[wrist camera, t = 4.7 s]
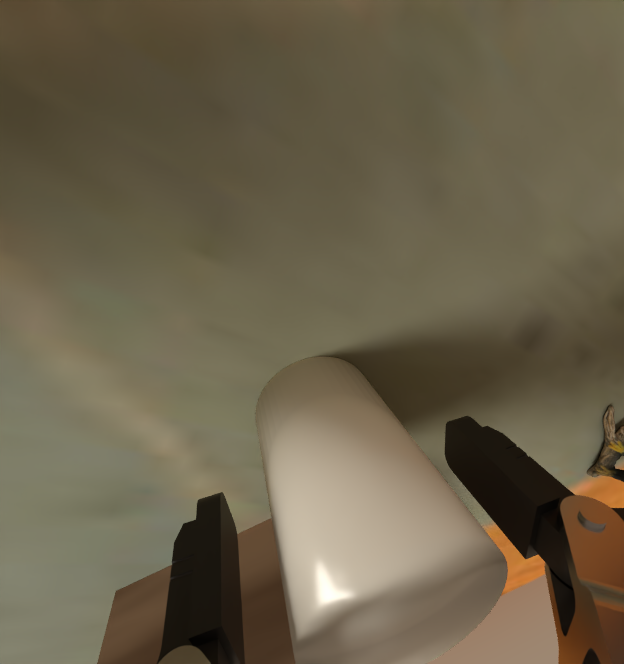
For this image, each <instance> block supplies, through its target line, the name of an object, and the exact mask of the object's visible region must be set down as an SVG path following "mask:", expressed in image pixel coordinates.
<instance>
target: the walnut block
mask: <svg viewBox="0 0 624 664" xmlns="http://www.w3.org/2000/svg"><path fill="white" fill-rule="evenodd" d="M237 537H238V549H239V567H240V585H241V602H242V620H243V638H244V655H245V664H296V663H295V658H294V652H293V646H292V640H291V634H290V628H289V621H288V615H287V609H286V603H285V597H284V591H283V585H282V579H281V573H280V566H279V560H278V554H277V548H276V542H275V536H274V530H273V524H272V518H271V519H269V520H266V521H264V522H262V523H260V524H258V525H256V526H254V527H252V528H249V529H247V530H245V531H243V532H241V533H239V534H237ZM171 566H172V565H171ZM171 566H169V567H166V568H164V569H162V570H160V571H158V572H156V573H154V574H151V575H149V576H147V577H145V578H143V579H141V580H139V581H137V582H134V583H132V584H130V585H128V586H126V587H124V588H122V589H120V590H117V591H116V593H115V597H114V600H113V604H112V608H111V612H110V616H109V620H108V624H107V628H106V632H105V636H104V639H103V643H102V647H101V651H100V655H99V659H98V663H97V664H157V661H158V658H159V655H160V651H161V646H162V638H163V630H164V622H165V614H166V606H167V598H168V590H169V582H170V574H171Z"/></svg>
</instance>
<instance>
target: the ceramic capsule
mask: <svg viewBox="0 0 624 664" xmlns="http://www.w3.org/2000/svg"><path fill="white" fill-rule="evenodd" d="M255 418H256V426H257V432H258V438H259V444H260V450H261V456H262V462H263V469H264V475H265V481H266V487H267V493H268V499H269V505H270V511H271V517H272V524H273V530H274V536H275V542H276V548H277V554H278V560H279V566H280V573H281V579H282V585H283V591H284V597H285V603H286V609H287V615H288V621H289V628H290V634H291V640H292V646H293V652H294V658H295V663H296V664H427V663H429V662H431V661H433V660H434V659H436V658H438V657H439V656H441V655H442V654H444V653H445V652H447V651H448V650H450V649H451V648H452V647H454V646H455V645H457V644H458V643H459V642H460V641H462V640H463V639H464V638H465V637H466V636H467V635H469V634H470V633H471V632H472V631H473V630H474V629H475V628H476V627H477V626H478V625H479V624H480V623H481V622H482V621H483V620H484V619H485V617H486V616H487V615H488V614H489V613H490V611H491V610H492V608H493V607H494V606H495V604H496V603H497V601H498V599H499V597H500V596H501V594H502V591H503V589H504V587H505V583H506V580H507V572H508V569H507V562H506V559H505V557H504V555H503V553H502V552H501V551H500V549H499V548H498V547H497V546H496V544H495V543H494V542H493V540H492V539H491V538H490V537H489V535H488V534H487V533H486V532H485V530H484V529H483V528H482V526H481V525H480V524H479V523H478V521H477V520H476V519H475V517H474V516H473V515H472V514H471V512H470V511H469V510H468V508H467V507H466V506H465V505H464V503H463V502H462V501H461V500H460V498H459V497H458V496H457V494H456V493H455V492H454V491H453V489H452V488H451V487H450V485H449V484H448V483H447V482H446V480H445V479H444V478H443V476H442V475H441V474H440V473H439V471H438V470H437V469H436V468H435V466H434V465H433V464H432V462H431V461H430V460H429V459H428V457H427V456H426V455H425V453H424V452H423V451H422V450H421V448H420V447H419V446H418V444H417V443H416V442H415V441H414V439H413V438H412V437H411V436H410V434H409V433H408V432H407V430H406V429H405V428H404V427H403V425H402V424H401V423H400V421H399V420H398V419H397V418H396V416H395V415H394V414H393V412H392V411H391V410H390V409H389V407H388V406H387V405H386V404H385V402H384V401H383V400H382V398H381V397H380V396H379V395H378V393H377V392H376V391H375V389H374V388H373V387H372V386H371V384H370V383H369V382H368V380H367V379H366V378H365V377H364V375H363V374H362V373H361V372H360V371H359V370H358V369H357V368H356V367H355V366H354V365H352V364H351V363H349V362H347V361H345V360H342V359H339V358H334V357H325V356H321V357H312V358H307V359H303V360H300V361H297V362H295V363H293V364H291V365H289V366H287V367H286V368H284V369H282V370H281V371H280V372H279V373H277V374H276V375H275V376H274V377H273V378H272V379H271V380H270V381H269V382H268V384H267V385H266V386H265V388H264V389H263V391H262V392H261V395H260V397H259V399H258V402H257V406H256V412H255Z"/></svg>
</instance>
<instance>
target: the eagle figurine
mask: <svg viewBox="0 0 624 664" xmlns="http://www.w3.org/2000/svg"><path fill="white" fill-rule="evenodd" d="M603 424H604V432H605V443H604V446H603V449H602V451H601V454H600V457H599V459H598V461H597V462H596V464H595V465H594V466H593V467H592V468H590V469H589V470H588V471H587V474H588V475H591V476H592V477H597V476H598V475H603V476H610V477H613V478H615V479H618V480H621V481H623V482H624V470H620V469H615V466H614V465H615V464H616V461H617V460H618V459H620V457H621V456H622V455H623V456H624V425H622V426H621V427H620V428H619V429H618V430H617V431H616V432H615V421H614V408H613V407H612V406H609V407H608V409H607V411H606V413H605V415H604V419H603Z"/></svg>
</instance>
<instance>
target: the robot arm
mask: <svg viewBox="0 0 624 664" xmlns="http://www.w3.org/2000/svg"><path fill="white" fill-rule="evenodd" d="M445 457H446V460H447V463H448V465H449V467H450V468H451V470H452V471H453V473H454V474H455V475H456V476H457V477H458V479H459V480H460V481H461V482H462V483H463V485H464V486H465V487H466V488H467V489H468V491H469V492H470V493H471V494H472V495H473V497H474V498H475V499H476V500H477V501H478V503H479V504H480V505H481V506H482V507H483V509H484V510H485V511H486V512H487V513H488V515H489V516H490V517H491V518H492V519H493V521H494V522H495V523H496V524H497V526H498V527H499V528H500V529H501V530H502V532H503V533H504V534H505V535H506V536H507V538H508V539H509V540H510V541H511V542H512V544H513V545H514V546H515V547H516V548H517V550H518V551H519V552H520V553H521V554H522V556H523V557H524V558H525V559H528V558H530V557H533V556H535V555H537V554H539V555H540V557H541V558H542V559H543V560H544V561H545V573H546V578H547V583H548V589H549V594H550V600H551V605H552V609H553V615H554V621H555V626H556V631H557V637H558V644H559V664H624V508H610V507H608V506H607V505H605V504H604V503H602V502H600V501H598V500H596V499H593V498H590V497H586V496H580V495H575V494H573V493H572V492H571V491H569V490H568V489H567V488H566V487H565V486H564V485H562V484H561V483H560V482H559V481H558V480H557V479H555V478H554V477H553V476H552V475H551V474H550V473H548V472H547V471H546V470H545V469H544V468H543V467H541V466H540V465H539V464H538V463H537V462H536V461H534V460H533V459H532V458H531V457H530V456H529V457H528V456H527V454H526V453H525V452H524V451H523V450H522V449H520V448H519V447H517V446H516V444H515V443H513V442H512V441H511V440H510V439H509V438H508V437H506V436H505V435H504V434H503V433H501V432H499V431H497V430H495V429H492V428H490V427H488V426H485V427H481V426H480V425H479V424H478V423H477V422H476V421H475V420H474V419H472V418H471V417H469V416H465V417H461V418H458V419H455V420H452V421H449V422H447V423H446V433H445ZM157 664H245V655H244V638H243V620H242V602H241V585H240V567H239V549H238V537H237V531H236V527H235V523H234V520H233V517H232V515H231V512H230V509H229V507H228V504H227V501H226V499H225V496H224V494H223V493H222V492H221V493H218V494H215V495H212V496H208V497H205V498H202V499H199V500H198V503H197V515H196V520H194V521H190V522H187V523H184V524H183V526H182V528H181V530H180V532H179V534H178V536H177V538H176V540H175V542H174V549H173V557H172V566H171V574H170V582H169V590H168V598H167V606H166V614H165V622H164V630H163V638H162V646H161V651H160V655H159V658H158V661H157Z"/></svg>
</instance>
